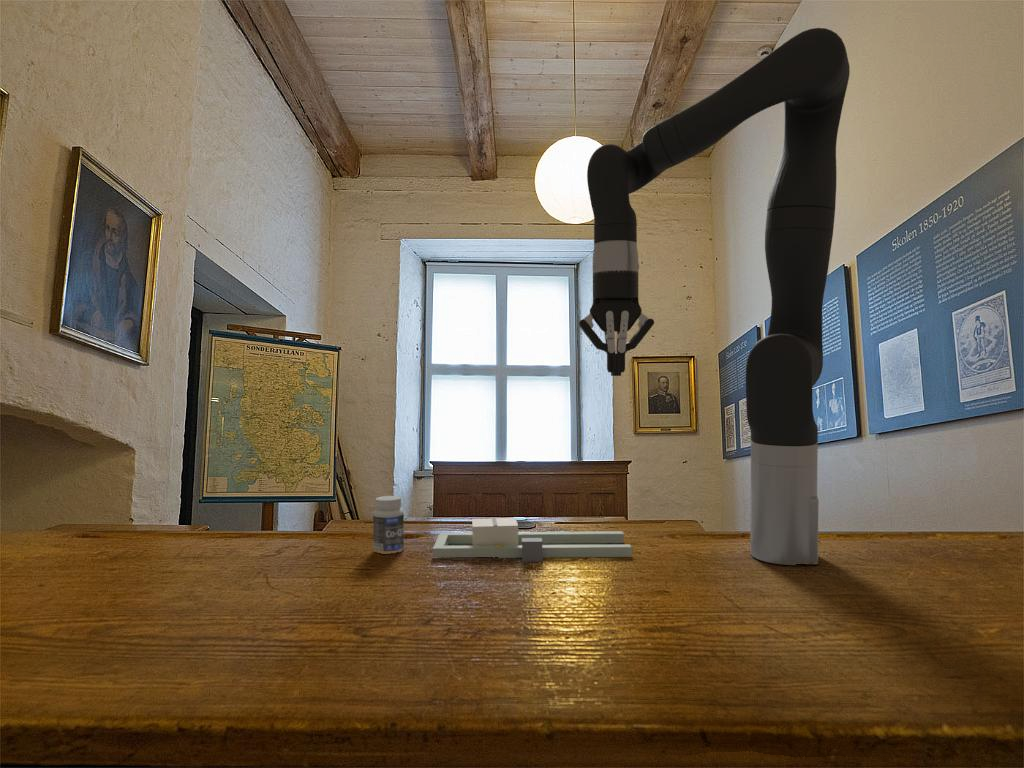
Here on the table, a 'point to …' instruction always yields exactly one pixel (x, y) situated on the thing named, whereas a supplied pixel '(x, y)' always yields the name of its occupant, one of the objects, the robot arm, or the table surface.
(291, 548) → the table surface
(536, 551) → the slotted beam
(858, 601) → the table surface
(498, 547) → the balance mark
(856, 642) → the table surface
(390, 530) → the pill bottle
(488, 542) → the block
